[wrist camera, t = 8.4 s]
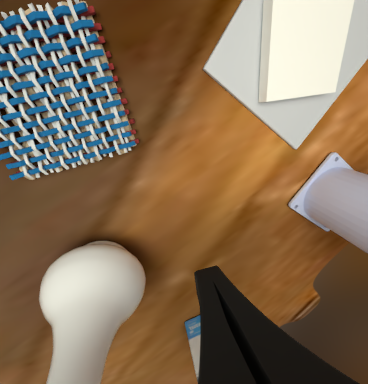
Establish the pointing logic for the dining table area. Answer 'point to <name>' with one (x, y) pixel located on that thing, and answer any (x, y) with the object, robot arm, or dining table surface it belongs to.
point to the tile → (302, 47)
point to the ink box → (194, 340)
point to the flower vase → (88, 307)
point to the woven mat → (58, 90)
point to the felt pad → (250, 71)
